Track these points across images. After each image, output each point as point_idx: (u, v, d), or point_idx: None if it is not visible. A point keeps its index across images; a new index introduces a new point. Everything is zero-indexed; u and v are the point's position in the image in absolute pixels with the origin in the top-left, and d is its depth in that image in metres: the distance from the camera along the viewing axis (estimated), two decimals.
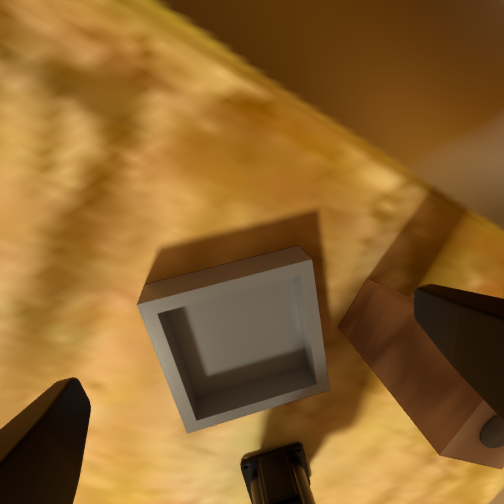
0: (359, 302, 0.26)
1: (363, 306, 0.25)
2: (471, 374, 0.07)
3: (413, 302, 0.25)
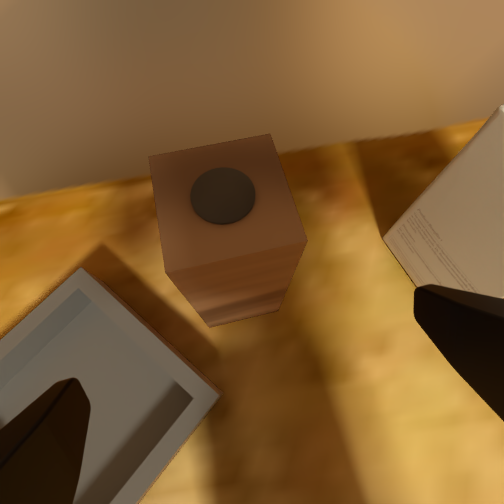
0: None
1: None
2: (471, 374, 0.07)
3: None
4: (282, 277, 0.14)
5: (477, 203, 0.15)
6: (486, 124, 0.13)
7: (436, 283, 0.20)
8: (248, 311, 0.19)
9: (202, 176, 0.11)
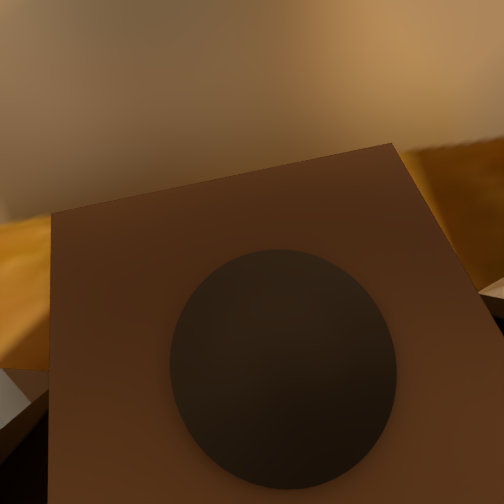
0: None
1: None
2: None
3: None
4: None
5: None
6: None
7: None
8: None
9: (210, 283, 0.04)
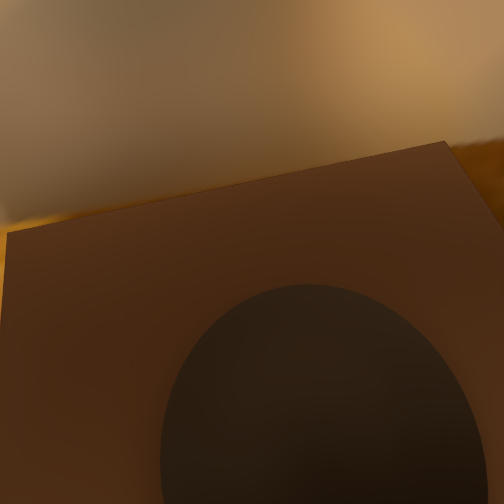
0: None
1: None
2: None
3: None
4: None
5: None
6: None
7: None
8: None
9: (217, 334, 0.03)
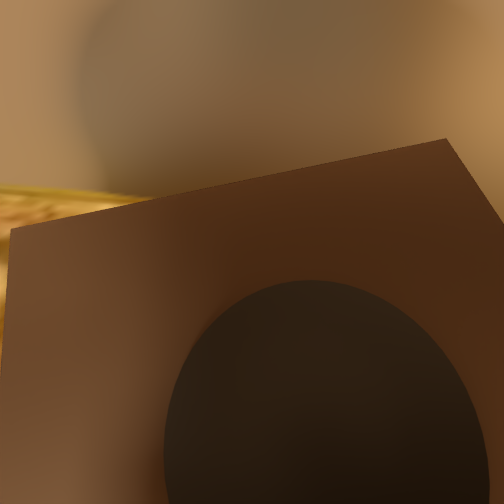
0: None
1: None
2: None
3: None
4: None
5: None
6: None
7: None
8: None
9: (220, 329, 0.03)
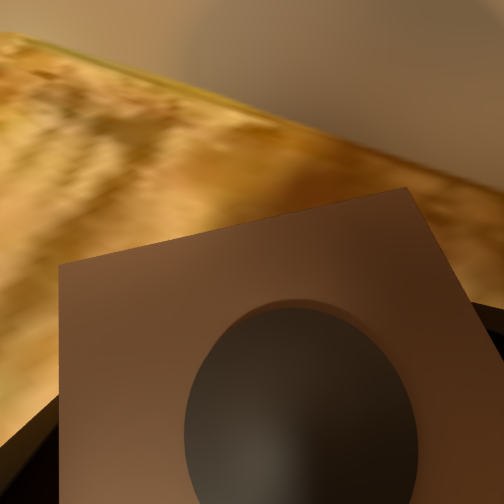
0: None
1: None
2: None
3: None
4: None
5: None
6: None
7: None
8: None
9: (224, 346, 0.03)
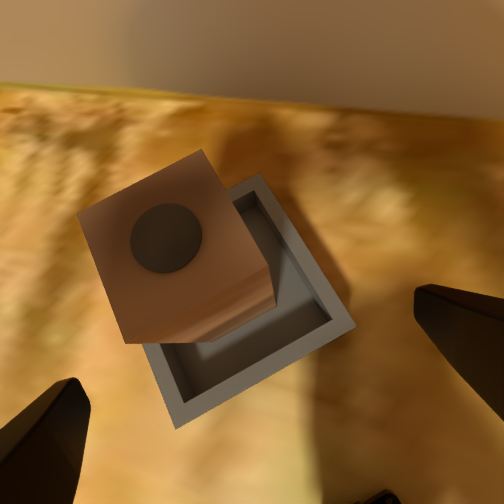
0: None
1: None
2: (472, 374, 0.07)
3: None
4: (262, 291, 0.13)
5: None
6: None
7: None
8: (244, 319, 0.19)
9: (138, 222, 0.10)
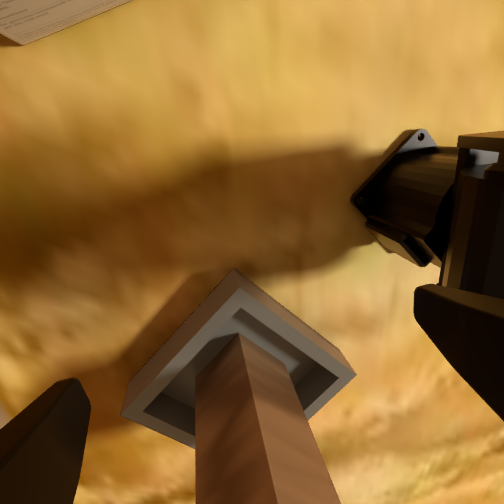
0: None
1: None
2: (471, 374, 0.07)
3: None
4: (268, 434, 0.15)
5: None
6: None
7: None
8: (265, 366, 0.21)
9: None
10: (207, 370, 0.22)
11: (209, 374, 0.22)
